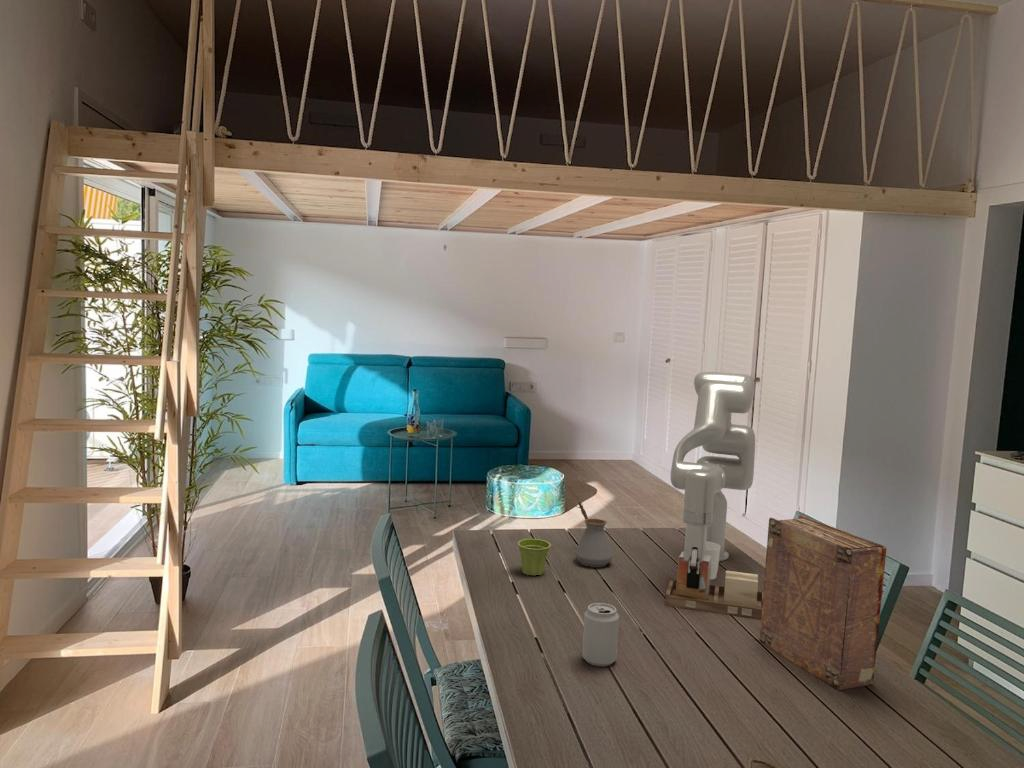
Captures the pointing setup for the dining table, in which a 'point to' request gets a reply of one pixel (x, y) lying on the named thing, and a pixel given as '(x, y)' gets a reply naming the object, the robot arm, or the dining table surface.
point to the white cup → (713, 557)
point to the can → (600, 634)
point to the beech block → (741, 588)
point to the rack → (713, 602)
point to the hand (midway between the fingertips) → (693, 583)
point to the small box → (703, 583)
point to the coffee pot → (593, 543)
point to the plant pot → (533, 555)
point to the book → (823, 600)
